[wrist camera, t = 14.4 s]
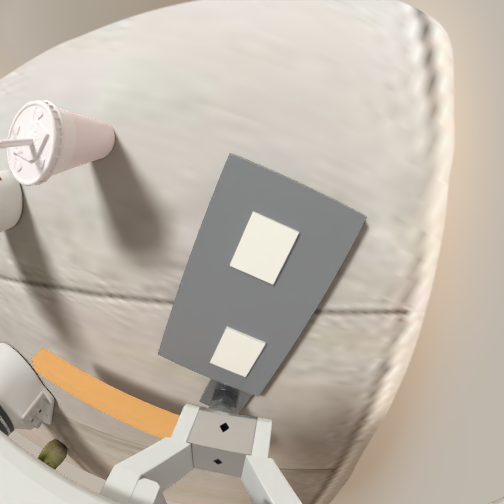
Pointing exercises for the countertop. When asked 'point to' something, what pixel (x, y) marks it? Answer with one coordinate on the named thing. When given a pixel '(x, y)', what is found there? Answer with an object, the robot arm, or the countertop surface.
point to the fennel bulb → (53, 454)
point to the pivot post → (224, 397)
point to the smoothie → (53, 142)
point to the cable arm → (105, 396)
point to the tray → (255, 274)
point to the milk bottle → (9, 200)
